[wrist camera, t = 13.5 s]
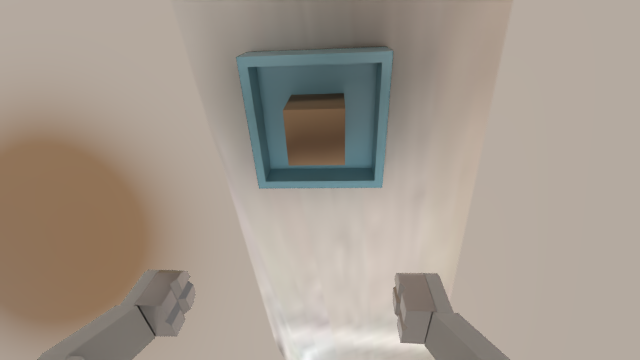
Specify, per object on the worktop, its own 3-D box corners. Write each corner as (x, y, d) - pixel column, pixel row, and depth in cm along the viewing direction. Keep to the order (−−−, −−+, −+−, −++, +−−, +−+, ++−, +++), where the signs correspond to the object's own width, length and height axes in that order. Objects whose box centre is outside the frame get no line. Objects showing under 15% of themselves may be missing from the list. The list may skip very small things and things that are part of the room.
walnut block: (291, 94, 27) (282, 110, 23) (343, 93, 27) (345, 108, 22) (295, 143, 30) (288, 165, 25) (343, 142, 29) (345, 164, 25)
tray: (247, 51, 26) (236, 56, 23) (386, 46, 25) (393, 51, 22) (266, 172, 32) (259, 188, 29) (377, 170, 32) (382, 187, 29)
